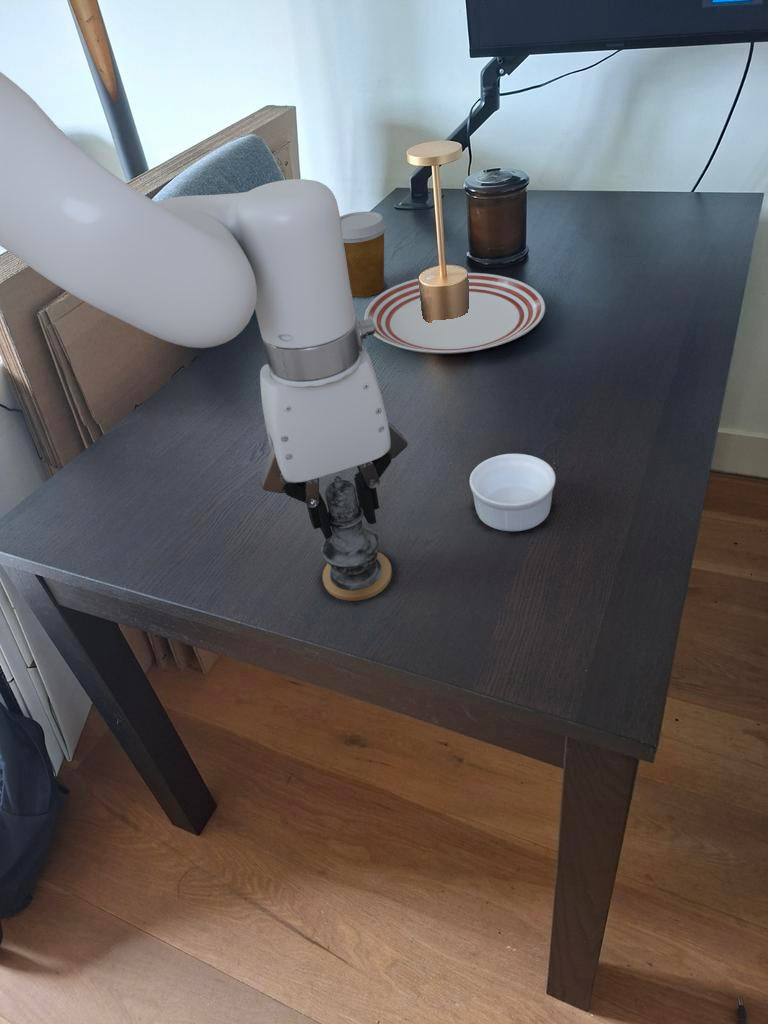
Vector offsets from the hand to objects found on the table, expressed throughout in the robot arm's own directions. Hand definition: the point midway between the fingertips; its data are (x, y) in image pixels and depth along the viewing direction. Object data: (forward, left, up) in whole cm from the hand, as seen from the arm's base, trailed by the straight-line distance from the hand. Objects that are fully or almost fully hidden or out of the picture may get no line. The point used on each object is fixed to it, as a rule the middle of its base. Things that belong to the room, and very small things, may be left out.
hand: (346, 521), depth 72 cm
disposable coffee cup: (+25, +68, -7) cm, 73 cm away
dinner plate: (+32, +46, -7) cm, 56 cm away
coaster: (0, 0, -7) cm, 7 cm away
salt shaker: (0, 0, -7) cm, 7 cm away
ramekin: (+19, +2, -7) cm, 20 cm away
